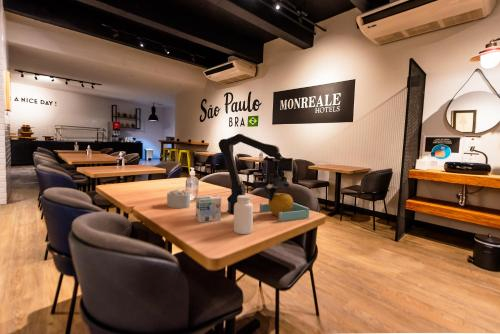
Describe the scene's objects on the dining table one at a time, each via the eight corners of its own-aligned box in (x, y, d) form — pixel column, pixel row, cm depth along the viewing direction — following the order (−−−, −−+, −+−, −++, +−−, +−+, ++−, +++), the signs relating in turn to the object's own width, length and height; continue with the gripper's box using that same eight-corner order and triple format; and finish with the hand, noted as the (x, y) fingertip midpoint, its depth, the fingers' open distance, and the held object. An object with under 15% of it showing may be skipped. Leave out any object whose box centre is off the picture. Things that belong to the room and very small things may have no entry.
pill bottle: (233, 228, 114) (234, 194, 113) (251, 228, 115) (252, 194, 114) (233, 234, 106) (234, 198, 105) (253, 234, 107) (254, 198, 106)
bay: (279, 221, 126) (280, 211, 125) (259, 211, 143) (259, 202, 142) (309, 218, 134) (309, 208, 134) (286, 208, 152) (286, 200, 151)
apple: (263, 212, 141) (264, 191, 140) (284, 211, 146) (285, 190, 145) (275, 219, 129) (276, 196, 128) (297, 217, 134) (299, 195, 133)
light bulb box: (199, 222, 120) (199, 199, 119) (195, 218, 126) (195, 196, 125) (221, 220, 125) (221, 198, 124) (216, 216, 131) (216, 195, 130)
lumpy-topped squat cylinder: (178, 202, 157) (179, 188, 156) (194, 206, 149) (194, 191, 149) (164, 205, 148) (164, 190, 147) (180, 209, 141) (180, 193, 140)
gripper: (264, 172, 121) (262, 205, 122) (296, 172, 130) (294, 203, 131) (252, 169, 131) (251, 200, 132) (283, 169, 139) (281, 198, 141)
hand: (270, 200), depth 134 cm, fingers closed
